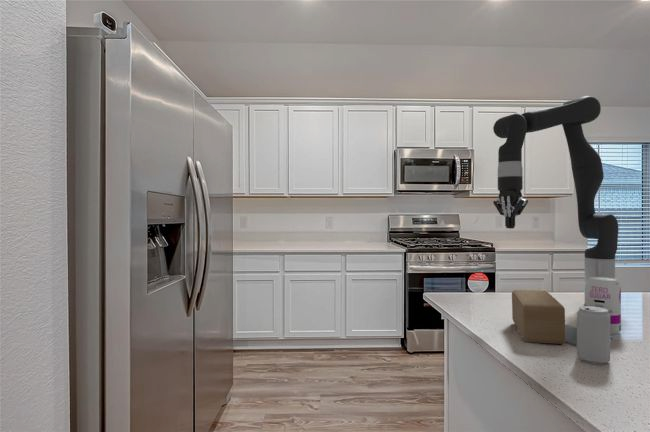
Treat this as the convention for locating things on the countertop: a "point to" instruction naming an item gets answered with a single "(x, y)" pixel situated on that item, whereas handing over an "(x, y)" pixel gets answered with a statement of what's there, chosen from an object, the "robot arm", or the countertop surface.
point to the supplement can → (606, 299)
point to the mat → (571, 335)
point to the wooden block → (538, 316)
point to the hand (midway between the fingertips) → (510, 228)
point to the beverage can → (593, 335)
